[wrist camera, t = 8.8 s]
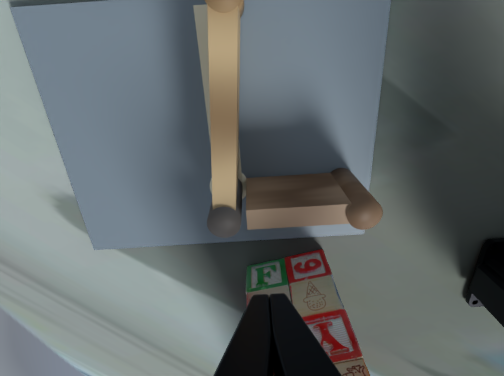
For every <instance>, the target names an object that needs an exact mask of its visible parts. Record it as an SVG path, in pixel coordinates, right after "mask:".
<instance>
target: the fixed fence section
mask: <svg viewBox="0 0 504 376" xmlns="http://www.w3.org/2000/svg"><path fill="white" fill-rule="evenodd" d="M382 214H383V210H382V207H381V205H380V204H379V203H378V202H377V201H376V200H375V198H374V197H373V196H372V195H371V194H370V193H369V192H368V190H367V189H366V188H365V187H364V186H363V185H362V184H361V182H360V181H359V180H358V179H357V178H356V177H355V176H354V174H353V173H352V172H351V171H350V170H348V169H346V168H337V169H335V170H333V171H332V172H331V173H318V174H302V175H286V176H270V177H254V178H246V217H247V229H248V230H252V229H269V228H286V227H303V226H319V225H336V224H350V225H351V226H352V227H354V228H356V229H360V230H365V229H369V228H372V227H374V226H375V225H376V224H377V223H378V222H379V221H380V220H381V218H382Z"/></svg>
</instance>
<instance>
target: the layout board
mask: <svg viewBox="0 0 504 376" xmlns="http://www.w3.org/2000/svg"><path fill="white" fill-rule="evenodd" d="M390 5H391V0H244V12H243V15H242V16H241V18H240V85H239V157H238V179H239V180H240V181H241V183H242V186H243V189H242V214H241V227H240V230H239V231H238V233H237V234H235V235H234V236H232V237H228V238H221V237H217V236H215V235H213V234H212V233H211V232H210V231H209V229H208V227H207V218H208V214H209V210H210V206H211V202H212V166H211V129H210V91H209V53H208V16H207V3H206V2H205V0H106V1H92V2H78V3H64V4H50V5H35V6H21V7H10V9H11V12H12V15H13V18H14V21H15V24H16V27H17V30H18V32H19V35H20V38H21V41H22V44H23V47H24V50H25V53H26V55H27V58H28V61H29V64H30V67H31V70H32V73H33V76H34V78H35V81H36V84H37V87H38V90H39V93H40V96H41V99H42V102H43V104H44V107H45V110H46V113H47V116H48V119H49V122H50V125H51V127H52V130H53V133H54V136H55V139H56V142H57V145H58V148H59V150H60V153H61V156H62V159H63V162H64V165H65V168H66V171H67V173H68V176H69V179H70V182H71V185H72V188H73V191H74V194H75V196H76V199H77V202H78V205H79V208H80V211H81V214H82V217H83V219H84V222H85V225H86V228H87V231H88V234H89V237H90V240H91V242H92V245H93V248H94V250H101V249H118V248H135V247H152V246H169V245H186V244H203V243H220V242H237V241H254V240H271V239H288V238H305V237H322V236H339V235H356V234H364V231H365V230H360V229H356V228H354V227H352V226H351V225H350V224H336V225H319V226H303V227H286V228H269V229H252V230H248V229H247V217H246V178H254V177H270V176H286V175H302V174H318V173H331V172H332V171H333V170H335V169H337V168H346V169H348V170H350V171H351V172H352V173H353V174H354V176H355V177H356V178H357V179H358V180H359V181H360V182H361V184H362V185H363V186H364V187H365V188H366V189H367V190H368V192H369V188H370V179H371V170H372V161H373V153H374V144H375V135H376V127H377V118H378V109H379V101H380V92H381V83H382V75H383V66H384V57H385V48H386V40H387V31H388V22H389V14H390Z"/></svg>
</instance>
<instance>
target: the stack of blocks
mask: <svg viewBox="0 0 504 376" xmlns="http://www.w3.org/2000/svg"><path fill="white" fill-rule="evenodd" d="M274 293H284V294H286V295H287V297H288V298H289V300H290V301H291V302H292V304H293V305H294V307H295V308H296V310H297V311H298V313H299V314H300V315H301V317H302V318H303V320H304V321H305V323H306V324H307V326H308V327H309V328H310V330H311V331H312V333H313V334H314V336H315V337H316V339H317V340H318V341H319V343H320V344H321V346H322V347H323V349H324V350H325V352H326V353H327V355H328V356H329V357H330V359H331V360H332V362H333V363H334V365H335V366H336V368H337V369H338V370H339V372H340V373H341V375H342V376H370V374H369V371H368V369H367V367H366V365H365V362H364V359H363V355H362V352H361V350H360V347H359V344H358V341H357V338H356V336H355V333H354V330H353V328H352V326H351V323H350V321H349V318H348V315H347V313H346V311H345V309H344V307H343V304H342V302H341V299H340V297H339V294H338V292H337V289H336V286H335V283H334V279H333V275H332V272H331V269H330V267H329V264H328V262H327V260H326V257H325V254H324V251H323V250H322V249H320V250H316V251H311V252H307V253H302V254H298V255H293V256H289V257H285V258H282V259H278V260H273V261H269V262H264V263H259V264H255V265H250V266H247V276H246V296H247V305H248V303H249V301H250V299H251V297H252V296H253V295H255V294H268V296H269V295H270V294H274Z"/></svg>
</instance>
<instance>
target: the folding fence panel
mask: <svg viewBox="0 0 504 376" xmlns="http://www.w3.org/2000/svg"><path fill="white" fill-rule="evenodd" d="M205 2H206V3H207V16H208V53H209V91H210V129H211V166H212V202H211V206H210V210H209V214H208V218H207V227H208V229H209V231H210V232H211V233H212V234H213V235H215V236H217V237H221V238H228V237H232V236H234V235H235V234H237V233H238V231H239V230H240V227H241V214H242V189H243V186H242V183H241V181H240V180H239V179H238V157H239V85H240V18H241V16H242V15H243V12H244V0H205Z"/></svg>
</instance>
